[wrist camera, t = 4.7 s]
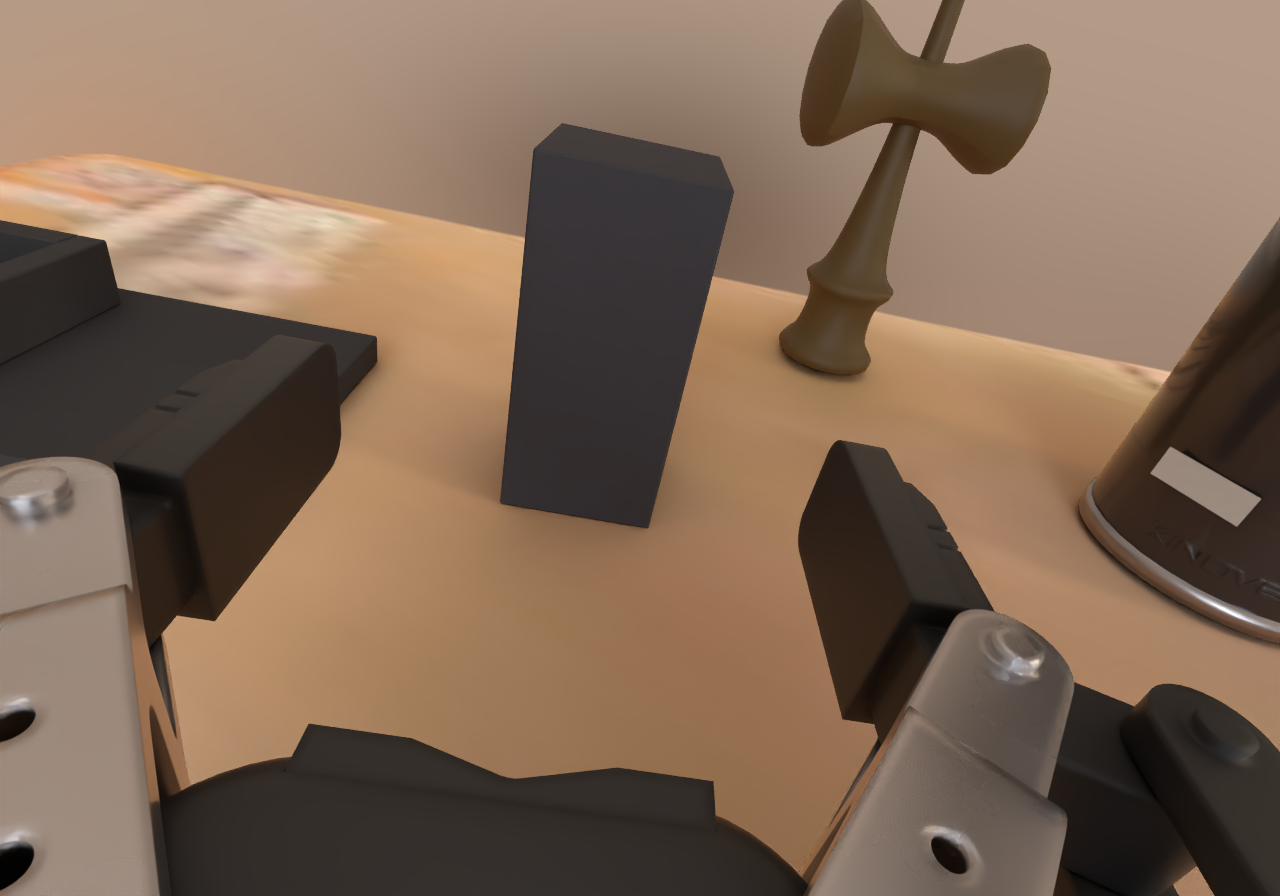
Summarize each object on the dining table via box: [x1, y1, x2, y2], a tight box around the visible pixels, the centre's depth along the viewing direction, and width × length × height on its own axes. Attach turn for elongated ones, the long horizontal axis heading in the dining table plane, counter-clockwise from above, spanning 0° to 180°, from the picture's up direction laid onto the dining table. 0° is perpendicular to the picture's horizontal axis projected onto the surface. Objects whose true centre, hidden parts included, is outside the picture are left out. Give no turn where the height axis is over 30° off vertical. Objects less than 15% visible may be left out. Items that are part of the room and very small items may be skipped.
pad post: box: [500, 123, 734, 528], centre depth 21 cm, size 5×5×11 cm
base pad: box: [0, 220, 377, 467], centre depth 22 cm, size 18×11×4 cm, turn 88°
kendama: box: [779, 0, 1051, 375], centre depth 32 cm, size 6×10×20 cm, turn 94°
